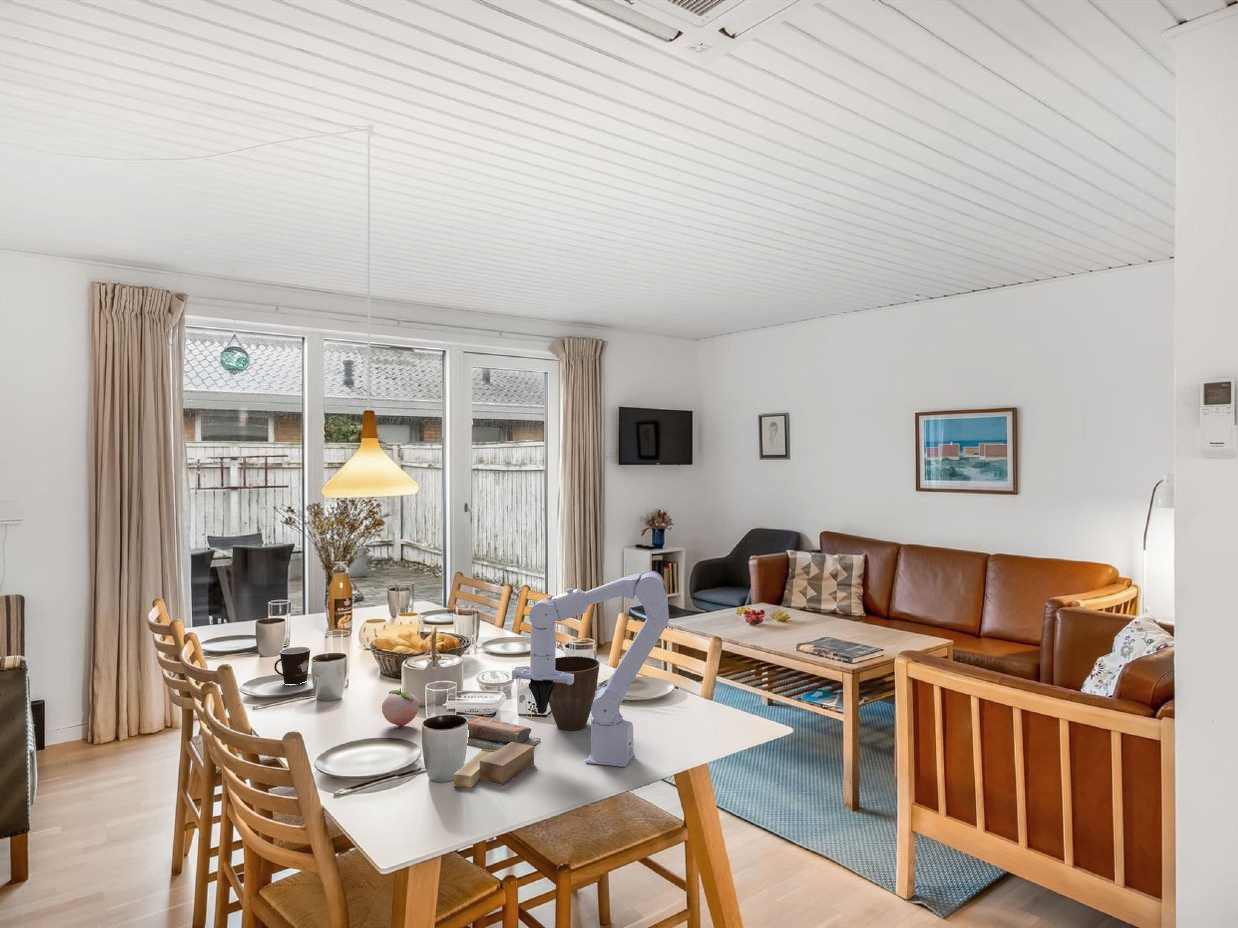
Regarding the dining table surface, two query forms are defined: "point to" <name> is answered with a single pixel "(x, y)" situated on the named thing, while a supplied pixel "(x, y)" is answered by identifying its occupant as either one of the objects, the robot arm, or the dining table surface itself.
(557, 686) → the plant pot
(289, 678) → the coffee mug
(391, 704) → the decorative fruit
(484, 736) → the reddish brown brick
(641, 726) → the dining table surface
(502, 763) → the block
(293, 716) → the dining table surface
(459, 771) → the light wooden bar
